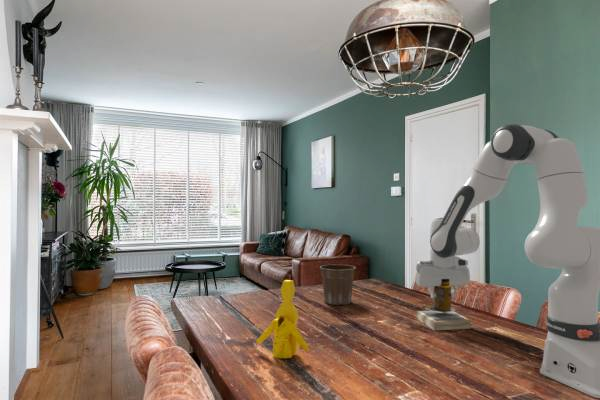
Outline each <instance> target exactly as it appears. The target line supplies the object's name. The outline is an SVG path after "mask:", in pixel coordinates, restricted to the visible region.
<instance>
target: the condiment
mask: <svg viewBox="0 0 600 400" xmlns="http://www.w3.org/2000/svg"><path fill="white" fill-rule="evenodd" d="M441 281H442V282H441V286H434V289H433V292H434V293H436V298H433V306H430V307H426V308H425V310H427V311H434V312H438V313H445V312H450V311H454V312H455V311H456V309H454V308H452V297H451V290H452V286H450V285H449V284H450V283H449V281H450V280H449V279H441Z"/></svg>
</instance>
